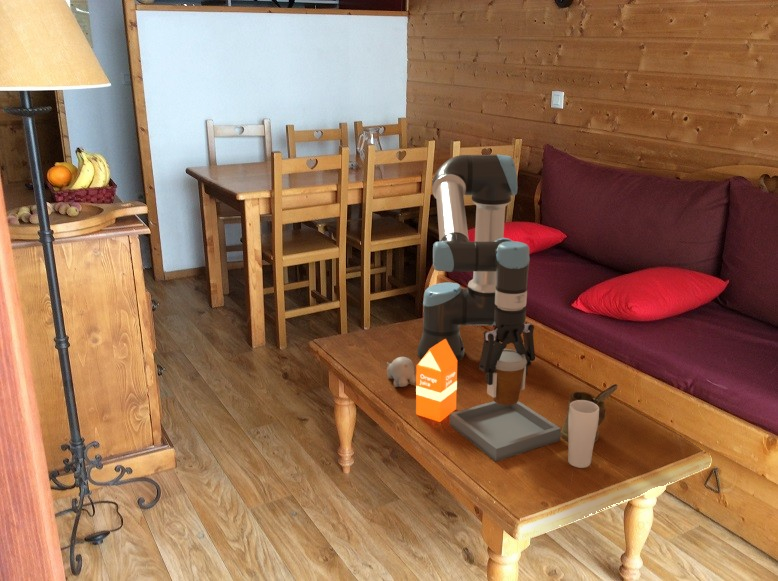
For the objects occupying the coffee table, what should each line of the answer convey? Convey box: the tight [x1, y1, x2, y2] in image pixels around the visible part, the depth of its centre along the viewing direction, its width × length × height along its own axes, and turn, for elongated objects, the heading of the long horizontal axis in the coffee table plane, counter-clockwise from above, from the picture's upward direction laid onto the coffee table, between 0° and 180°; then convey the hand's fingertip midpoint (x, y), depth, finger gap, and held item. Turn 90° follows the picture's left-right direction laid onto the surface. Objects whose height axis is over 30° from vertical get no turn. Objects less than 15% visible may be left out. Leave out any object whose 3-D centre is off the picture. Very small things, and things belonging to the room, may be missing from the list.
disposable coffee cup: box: [492, 348, 527, 405], centre depth 175 cm, size 10×10×12 cm
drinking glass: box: [567, 400, 599, 469], centre depth 164 cm, size 7×7×15 cm
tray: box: [449, 400, 562, 463], centre depth 179 cm, size 20×20×4 cm
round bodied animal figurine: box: [386, 356, 416, 388], centre depth 207 cm, size 7×12×8 cm, turn 30°
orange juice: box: [415, 339, 458, 423], centre depth 187 cm, size 8×9×20 cm
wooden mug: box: [560, 384, 618, 443], centre depth 173 cm, size 9×14×18 cm, turn 37°
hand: (505, 391), depth 176 cm, fingers closed on disposable coffee cup, 8 cm apart
